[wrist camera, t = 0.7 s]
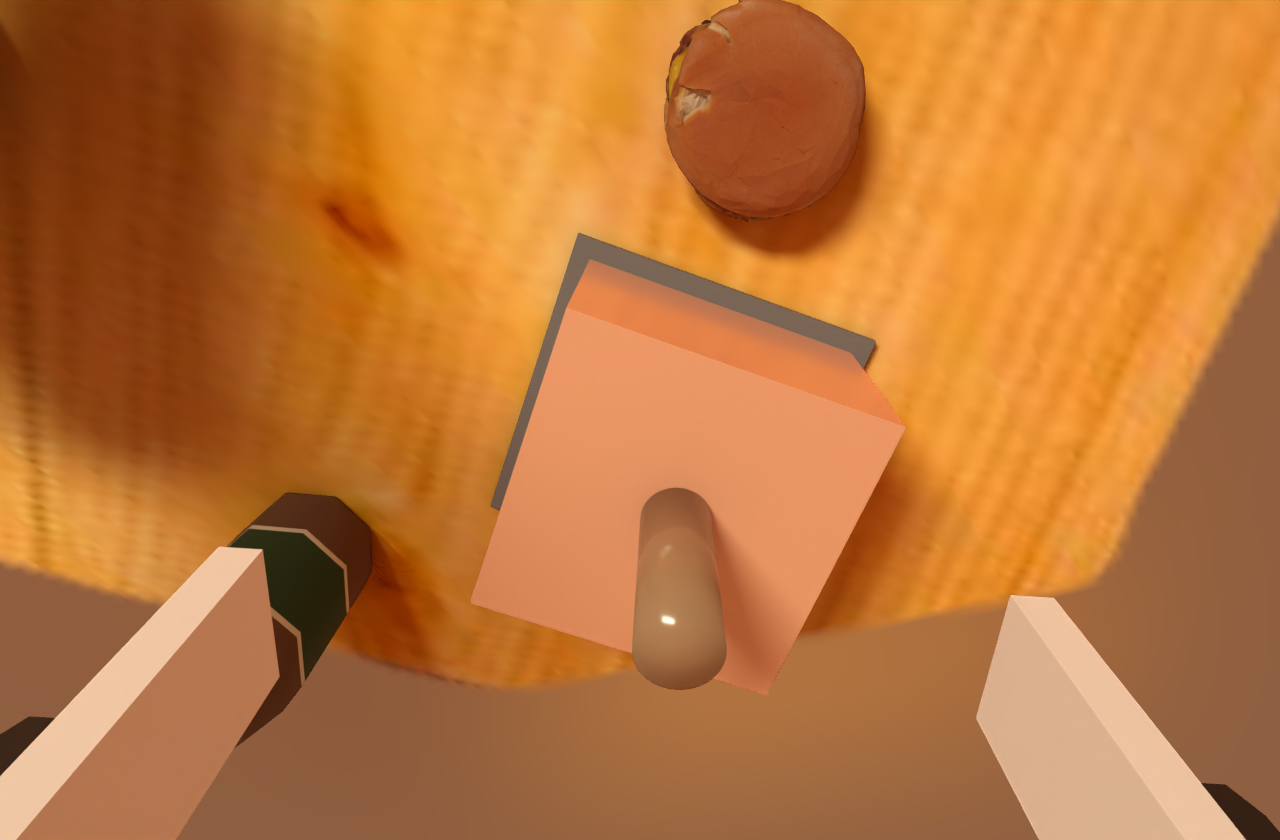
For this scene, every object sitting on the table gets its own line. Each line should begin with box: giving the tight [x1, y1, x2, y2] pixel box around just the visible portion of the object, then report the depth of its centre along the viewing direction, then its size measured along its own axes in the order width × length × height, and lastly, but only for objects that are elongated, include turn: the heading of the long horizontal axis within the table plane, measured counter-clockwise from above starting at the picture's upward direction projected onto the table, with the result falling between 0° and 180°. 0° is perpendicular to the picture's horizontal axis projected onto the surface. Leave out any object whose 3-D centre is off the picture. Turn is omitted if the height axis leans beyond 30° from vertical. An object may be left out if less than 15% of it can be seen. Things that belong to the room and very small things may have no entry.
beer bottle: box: [227, 493, 372, 748], centre depth 39 cm, size 8×8×24 cm
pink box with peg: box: [470, 259, 906, 696], centre depth 36 cm, size 15×15×20 cm
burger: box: [664, 0, 866, 222], centre depth 38 cm, size 10×9×5 cm
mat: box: [490, 233, 876, 510], centre depth 46 cm, size 17×17×1 cm
